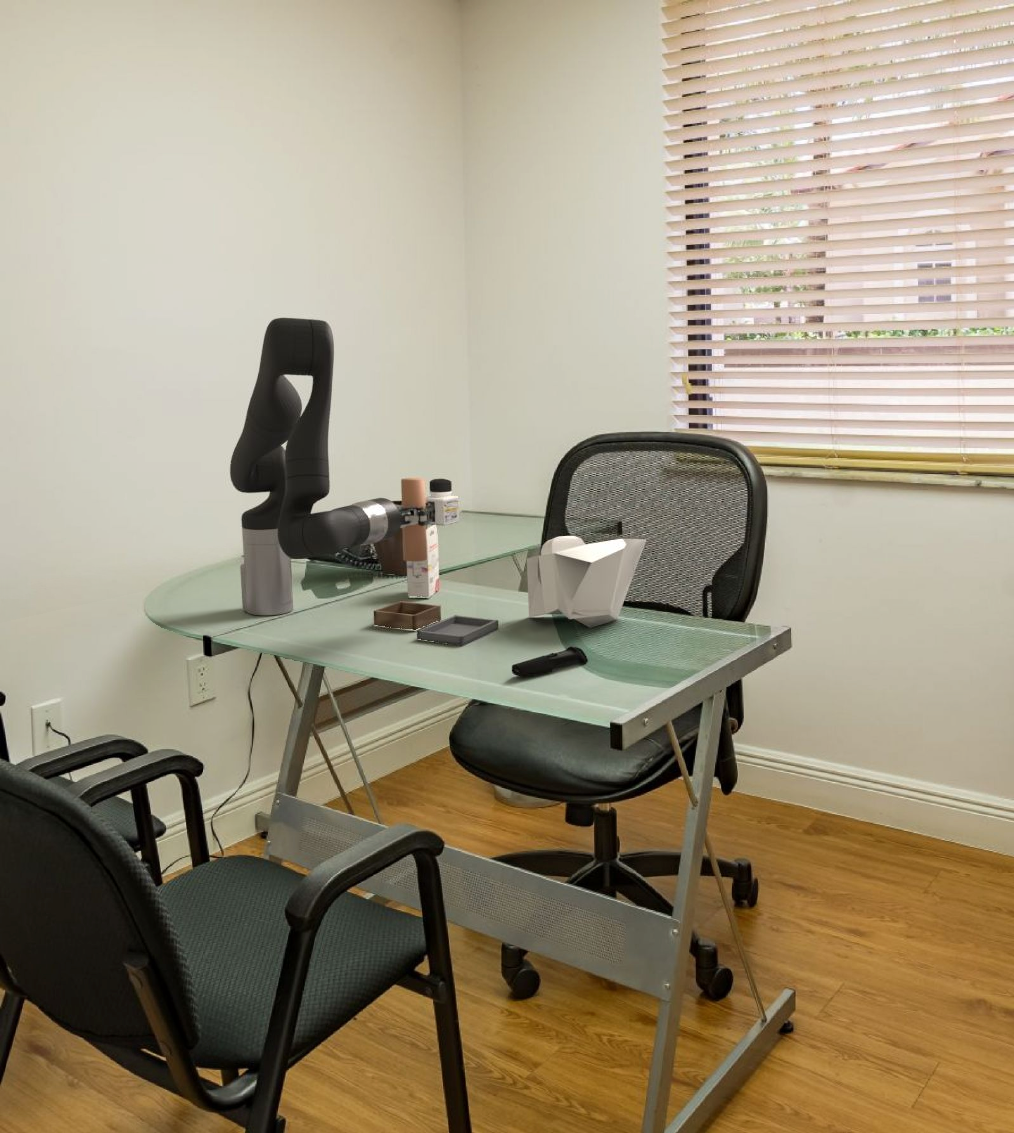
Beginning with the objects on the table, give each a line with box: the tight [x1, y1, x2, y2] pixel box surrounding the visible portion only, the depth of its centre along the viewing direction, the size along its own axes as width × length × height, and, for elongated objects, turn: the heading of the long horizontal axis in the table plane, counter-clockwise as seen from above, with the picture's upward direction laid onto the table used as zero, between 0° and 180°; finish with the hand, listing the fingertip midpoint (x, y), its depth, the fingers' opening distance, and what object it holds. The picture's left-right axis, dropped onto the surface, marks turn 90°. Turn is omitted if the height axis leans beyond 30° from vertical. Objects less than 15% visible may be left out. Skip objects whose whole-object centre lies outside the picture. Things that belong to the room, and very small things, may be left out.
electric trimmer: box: [511, 646, 589, 678], centre depth 186 cm, size 4×16×3 cm, turn 133°
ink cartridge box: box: [406, 524, 440, 597], centre depth 242 cm, size 9×5×15 cm, turn 168°
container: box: [425, 478, 460, 526], centre depth 338 cm, size 8×8×13 cm
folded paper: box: [526, 535, 647, 629], centre depth 217 cm, size 17×24×17 cm
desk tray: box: [416, 614, 499, 647], centre depth 209 cm, size 9×13×2 cm
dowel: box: [400, 477, 427, 561], centre depth 212 cm, size 4×4×15 cm
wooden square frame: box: [373, 600, 442, 630], centre depth 218 cm, size 9×9×3 cm
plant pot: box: [372, 500, 430, 576], centre depth 265 cm, size 15×15×16 cm
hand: (421, 509), depth 214 cm, fingers closed on dowel, 4 cm apart
